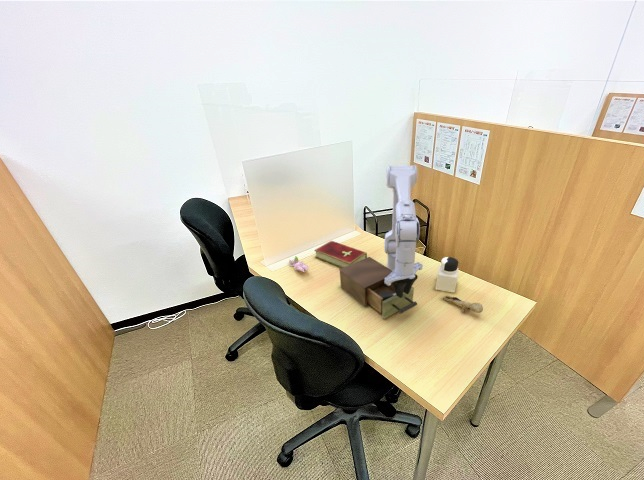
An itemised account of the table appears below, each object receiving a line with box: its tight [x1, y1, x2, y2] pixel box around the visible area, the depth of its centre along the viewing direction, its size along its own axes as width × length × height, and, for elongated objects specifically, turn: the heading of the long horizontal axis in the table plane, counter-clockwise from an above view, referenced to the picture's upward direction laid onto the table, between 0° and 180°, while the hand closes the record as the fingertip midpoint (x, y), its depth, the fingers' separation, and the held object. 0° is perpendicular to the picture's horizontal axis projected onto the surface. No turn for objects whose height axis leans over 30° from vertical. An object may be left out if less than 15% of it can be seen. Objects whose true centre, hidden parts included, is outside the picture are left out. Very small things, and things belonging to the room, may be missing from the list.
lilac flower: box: [289, 255, 309, 273], centre depth 124 cm, size 6×6×15 cm
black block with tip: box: [378, 291, 396, 301], centre depth 102 cm, size 8×3×3 cm, turn 105°
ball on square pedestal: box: [435, 256, 459, 294], centre depth 109 cm, size 7×7×12 cm
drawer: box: [366, 280, 418, 320], centre depth 101 cm, size 19×13×7 cm
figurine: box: [442, 295, 484, 314], centre depth 100 cm, size 4×4×15 cm
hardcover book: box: [314, 240, 368, 269], centre depth 131 cm, size 12×21×4 cm, turn 53°
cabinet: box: [339, 256, 392, 308], centre depth 110 cm, size 16×15×9 cm
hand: (402, 294), depth 95 cm, fingers closed
